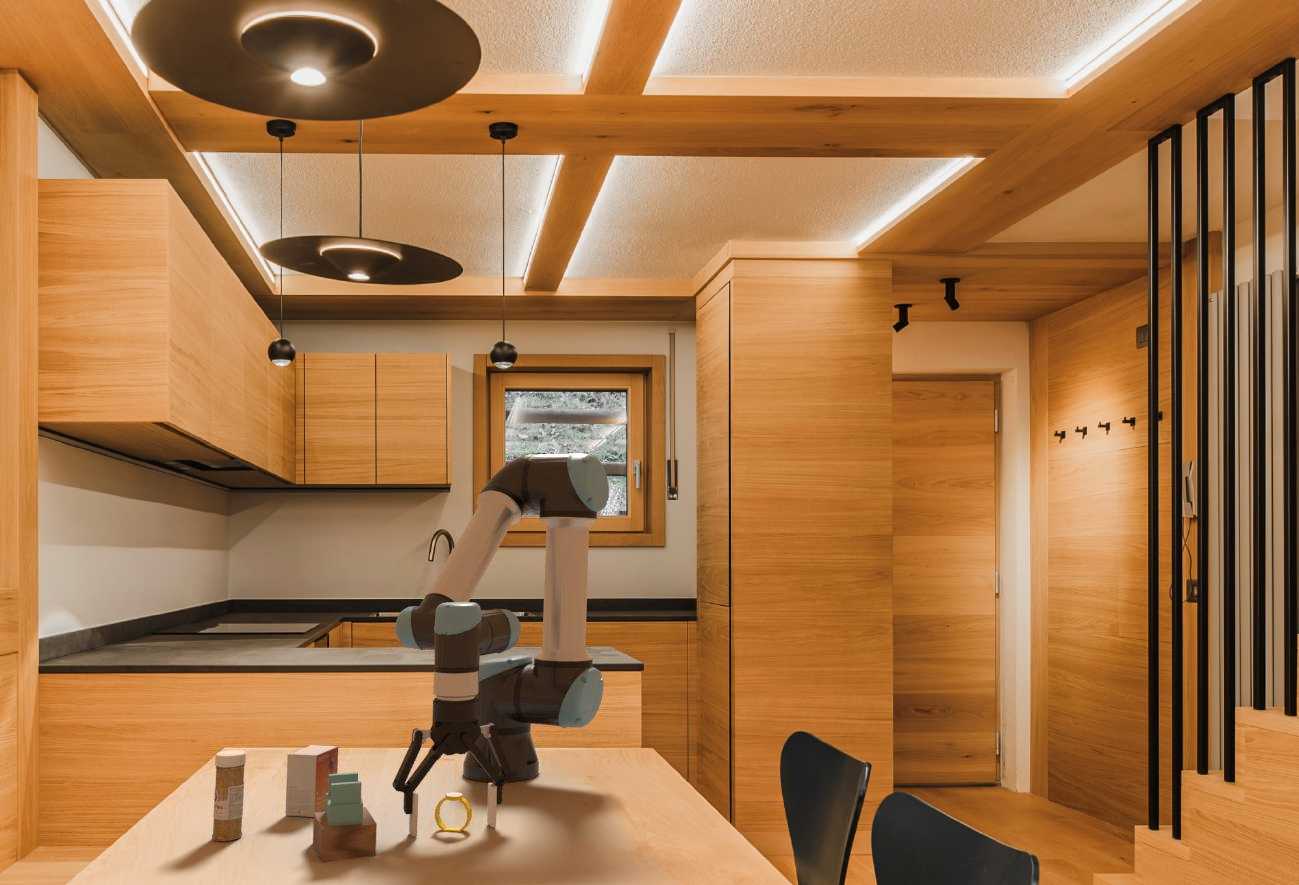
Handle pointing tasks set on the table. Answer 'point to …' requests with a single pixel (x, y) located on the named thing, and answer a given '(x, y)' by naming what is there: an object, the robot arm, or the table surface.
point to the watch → (453, 797)
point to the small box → (309, 779)
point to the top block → (344, 800)
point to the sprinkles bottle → (229, 795)
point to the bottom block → (344, 838)
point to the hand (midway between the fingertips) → (453, 829)
